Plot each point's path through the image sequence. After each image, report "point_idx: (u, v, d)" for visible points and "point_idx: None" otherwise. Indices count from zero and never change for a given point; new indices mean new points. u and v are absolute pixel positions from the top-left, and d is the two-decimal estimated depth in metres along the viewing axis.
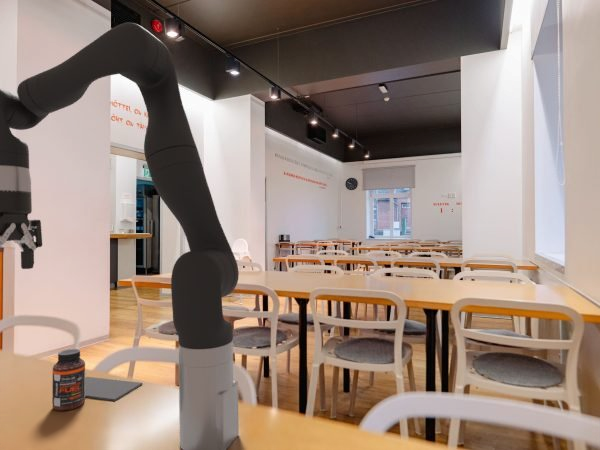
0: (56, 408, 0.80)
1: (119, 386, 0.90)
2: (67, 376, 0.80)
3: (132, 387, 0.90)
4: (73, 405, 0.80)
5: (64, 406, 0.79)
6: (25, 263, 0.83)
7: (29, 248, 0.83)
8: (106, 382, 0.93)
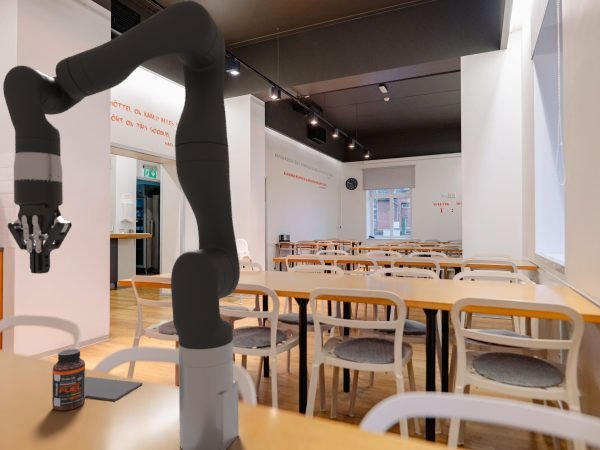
0: (56, 408, 0.80)
1: (119, 386, 0.90)
2: (67, 376, 0.80)
3: (132, 387, 0.90)
4: (73, 405, 0.80)
5: (64, 406, 0.79)
6: None
7: None
8: (106, 382, 0.93)
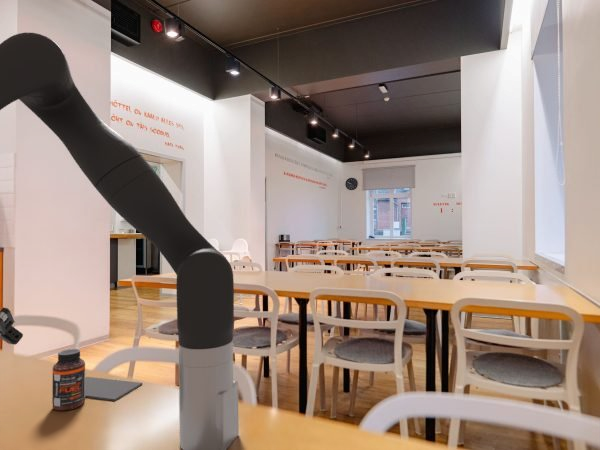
0: (56, 408, 0.80)
1: (119, 386, 0.90)
2: (67, 376, 0.80)
3: (132, 387, 0.90)
4: (73, 405, 0.80)
5: (64, 406, 0.79)
6: None
7: None
8: (106, 382, 0.93)
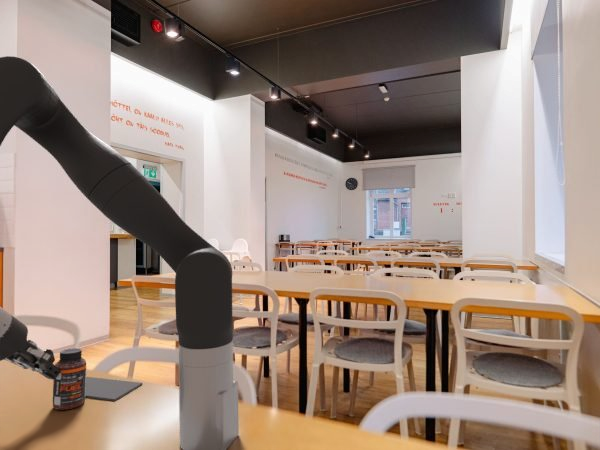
0: (56, 407, 0.80)
1: (119, 386, 0.90)
2: (68, 375, 0.80)
3: (132, 387, 0.90)
4: (73, 404, 0.80)
5: (64, 405, 0.79)
6: None
7: None
8: (106, 382, 0.93)
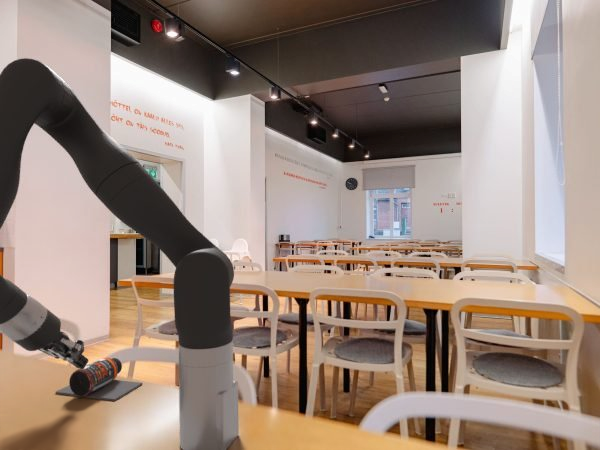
0: (79, 369, 0.86)
1: (119, 386, 0.90)
2: (108, 362, 0.91)
3: (132, 387, 0.90)
4: (91, 375, 0.85)
5: (87, 370, 0.86)
6: None
7: None
8: None
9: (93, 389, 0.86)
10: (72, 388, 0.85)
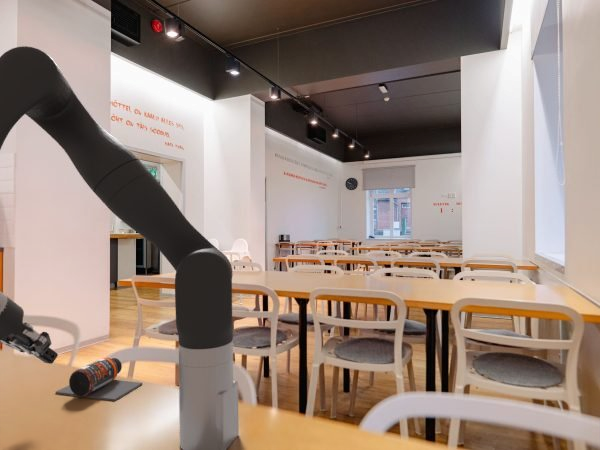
0: (79, 369, 0.86)
1: (119, 386, 0.90)
2: (108, 362, 0.91)
3: (132, 387, 0.90)
4: (91, 375, 0.85)
5: (87, 370, 0.86)
6: None
7: None
8: None
9: (93, 389, 0.86)
10: (72, 388, 0.85)
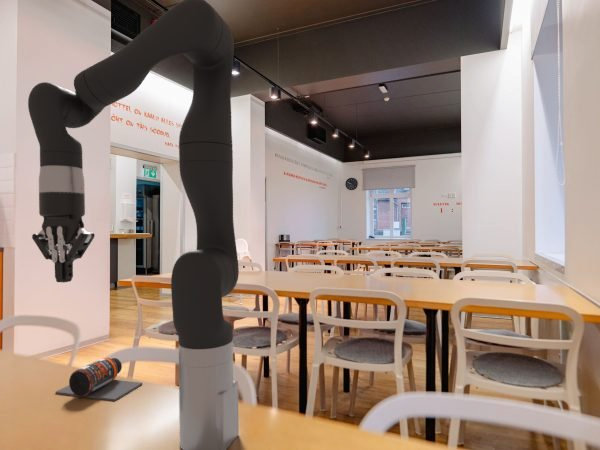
0: (79, 369, 0.86)
1: (119, 386, 0.90)
2: (108, 362, 0.91)
3: (132, 387, 0.90)
4: (91, 375, 0.85)
5: (87, 370, 0.86)
6: None
7: None
8: None
9: (93, 389, 0.86)
10: (72, 388, 0.85)
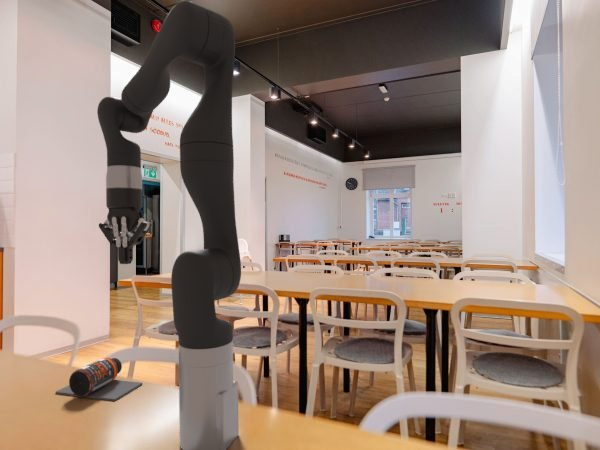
0: (79, 369, 0.86)
1: (119, 386, 0.90)
2: (108, 362, 0.91)
3: (132, 387, 0.90)
4: (91, 375, 0.85)
5: (87, 370, 0.86)
6: None
7: None
8: None
9: (93, 389, 0.86)
10: (72, 388, 0.85)
